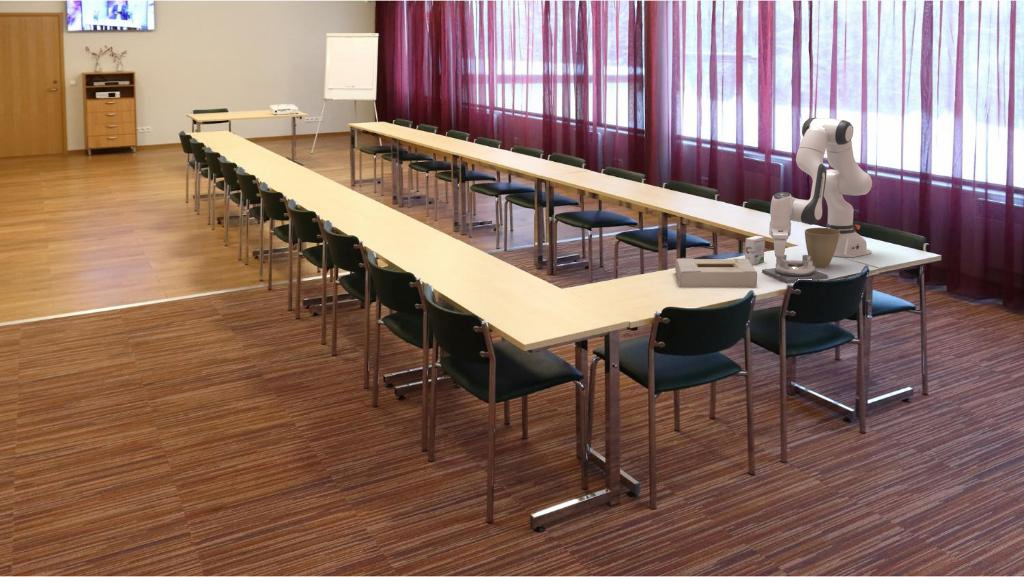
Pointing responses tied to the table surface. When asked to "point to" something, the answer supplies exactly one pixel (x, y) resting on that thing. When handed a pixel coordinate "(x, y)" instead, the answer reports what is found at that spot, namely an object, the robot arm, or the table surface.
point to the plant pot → (821, 245)
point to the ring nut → (795, 266)
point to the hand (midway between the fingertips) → (778, 262)
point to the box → (715, 273)
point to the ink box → (755, 249)
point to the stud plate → (792, 279)
